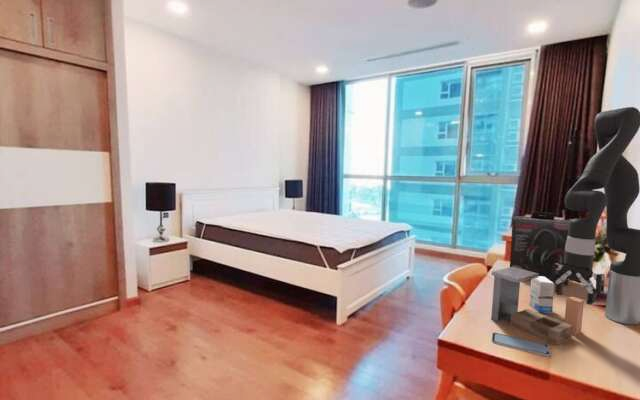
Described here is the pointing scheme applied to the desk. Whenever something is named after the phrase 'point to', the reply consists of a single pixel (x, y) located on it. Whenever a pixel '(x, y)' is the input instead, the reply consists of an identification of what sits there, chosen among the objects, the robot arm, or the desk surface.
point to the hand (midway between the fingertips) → (573, 299)
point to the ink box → (542, 294)
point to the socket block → (541, 326)
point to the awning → (508, 291)
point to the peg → (574, 313)
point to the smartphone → (521, 344)
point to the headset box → (538, 243)
